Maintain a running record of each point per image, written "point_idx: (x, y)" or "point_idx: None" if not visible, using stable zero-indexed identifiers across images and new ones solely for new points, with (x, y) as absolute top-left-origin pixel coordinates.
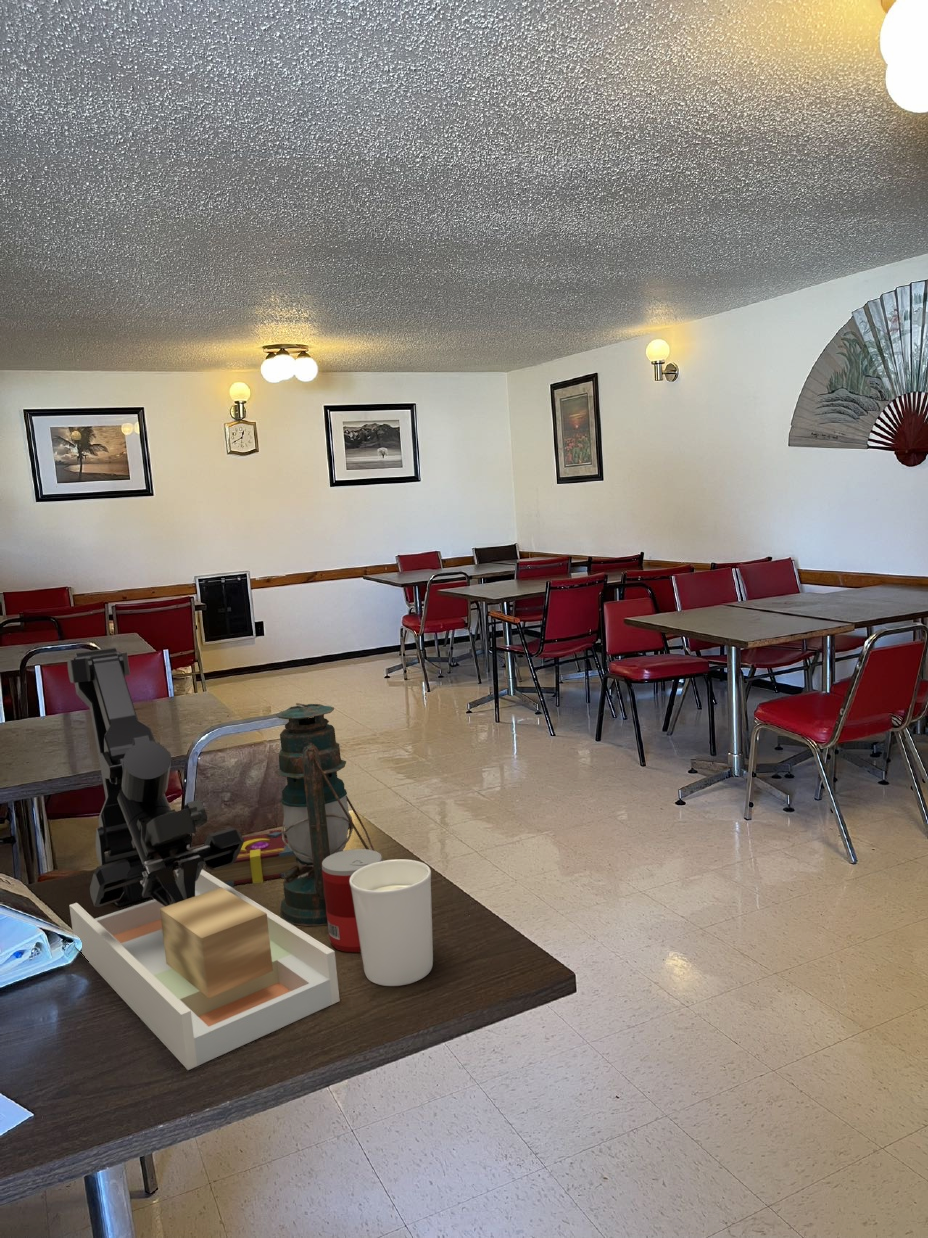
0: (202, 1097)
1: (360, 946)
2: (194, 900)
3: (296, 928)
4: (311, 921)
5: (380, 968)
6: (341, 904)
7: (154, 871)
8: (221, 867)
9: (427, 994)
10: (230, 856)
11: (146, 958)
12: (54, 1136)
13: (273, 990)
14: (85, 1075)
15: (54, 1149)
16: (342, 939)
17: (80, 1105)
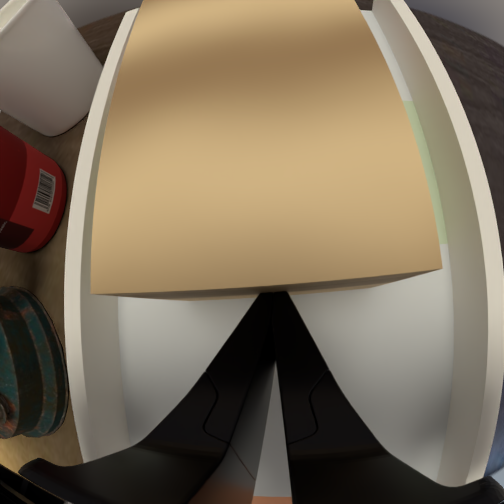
0: (369, 6)
1: (76, 74)
2: (255, 226)
3: (94, 100)
4: (41, 316)
5: (95, 56)
6: (10, 141)
7: (487, 502)
8: (58, 497)
9: (98, 45)
10: (12, 488)
11: (399, 361)
12: (497, 57)
13: None
14: (494, 118)
15: (492, 45)
16: (53, 170)
17: (487, 75)
